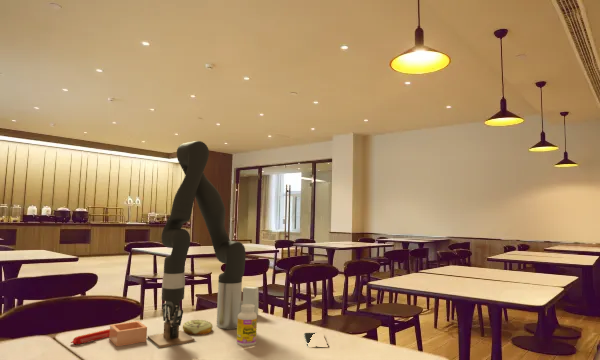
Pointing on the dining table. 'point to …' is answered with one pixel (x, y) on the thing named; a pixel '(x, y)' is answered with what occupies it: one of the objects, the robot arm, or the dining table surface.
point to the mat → (167, 346)
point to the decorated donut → (197, 327)
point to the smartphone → (308, 337)
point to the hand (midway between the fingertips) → (170, 336)
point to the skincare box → (251, 297)
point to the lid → (165, 339)
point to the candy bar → (91, 337)
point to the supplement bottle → (247, 325)
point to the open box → (128, 333)
